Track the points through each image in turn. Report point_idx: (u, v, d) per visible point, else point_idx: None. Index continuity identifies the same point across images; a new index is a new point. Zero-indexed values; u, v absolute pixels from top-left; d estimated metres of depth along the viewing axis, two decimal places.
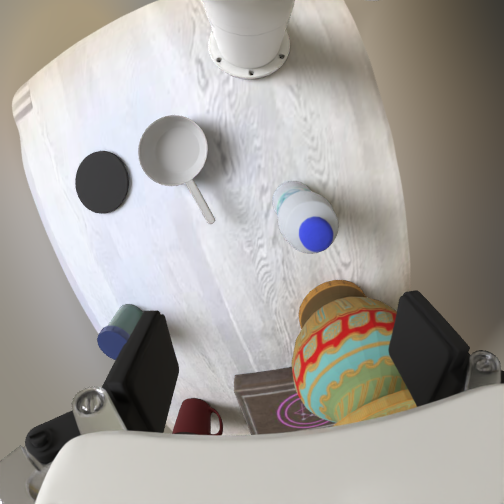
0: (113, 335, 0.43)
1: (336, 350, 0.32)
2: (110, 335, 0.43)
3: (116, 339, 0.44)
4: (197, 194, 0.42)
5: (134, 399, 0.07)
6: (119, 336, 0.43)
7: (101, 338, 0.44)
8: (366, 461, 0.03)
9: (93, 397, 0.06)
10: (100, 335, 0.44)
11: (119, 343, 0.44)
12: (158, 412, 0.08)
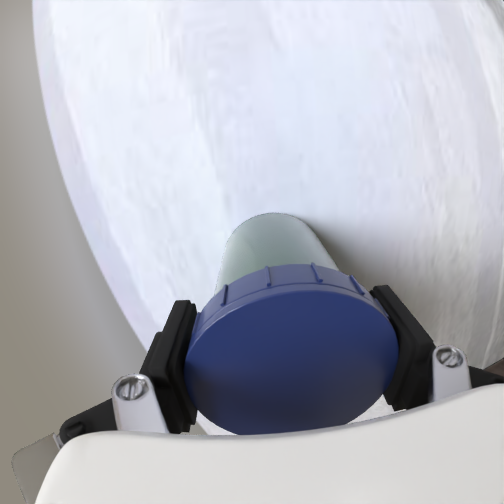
0: (328, 319, 0.07)
1: None
2: (301, 324, 0.07)
3: (336, 342, 0.07)
4: None
5: (174, 384, 0.07)
6: (368, 318, 0.07)
7: (220, 351, 0.08)
8: (366, 461, 0.03)
9: (135, 383, 0.07)
10: (219, 332, 0.07)
11: (344, 364, 0.08)
12: None
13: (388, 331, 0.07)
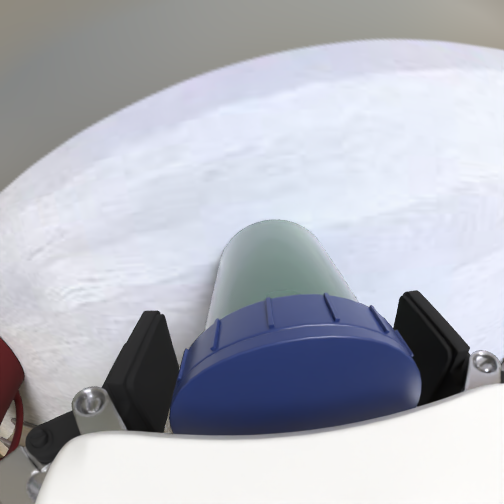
0: (345, 366, 0.05)
1: None
2: (311, 374, 0.05)
3: (352, 390, 0.06)
4: None
5: (134, 399, 0.07)
6: (392, 362, 0.05)
7: (212, 401, 0.06)
8: (366, 461, 0.03)
9: (93, 397, 0.06)
10: (210, 382, 0.06)
11: (358, 410, 0.06)
12: (158, 412, 0.08)
13: (412, 373, 0.06)
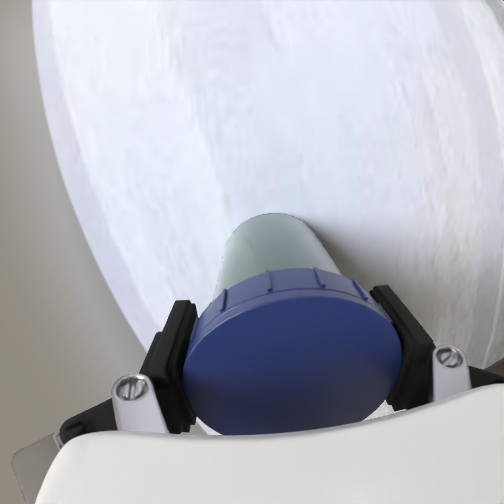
0: (208, 380, 0.08)
1: None
2: (215, 395, 0.08)
3: (237, 372, 0.07)
4: None
5: (174, 384, 0.07)
6: (208, 350, 0.07)
7: (246, 431, 0.09)
8: (366, 461, 0.03)
9: (135, 383, 0.07)
10: (226, 431, 0.09)
11: (270, 362, 0.07)
12: None
13: (226, 326, 0.07)
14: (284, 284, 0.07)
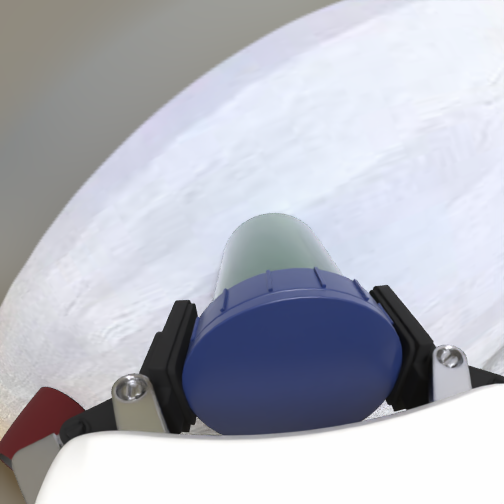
0: (209, 380, 0.08)
1: None
2: (215, 395, 0.08)
3: (237, 372, 0.07)
4: None
5: (174, 384, 0.07)
6: (208, 349, 0.07)
7: (246, 432, 0.09)
8: (366, 461, 0.03)
9: (135, 383, 0.07)
10: (226, 431, 0.09)
11: (271, 362, 0.07)
12: None
13: (227, 326, 0.07)
14: (285, 284, 0.07)
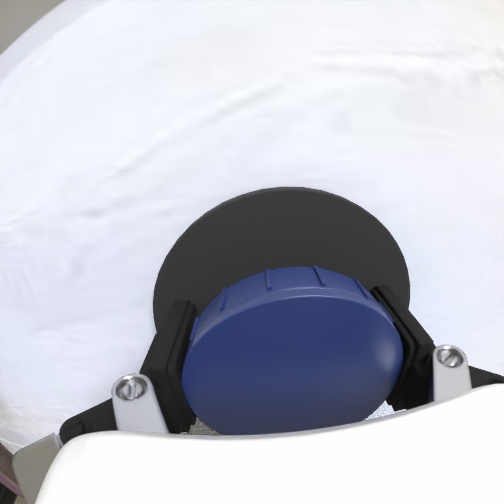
0: (208, 379, 0.08)
1: None
2: (214, 395, 0.08)
3: (237, 371, 0.07)
4: None
5: (174, 384, 0.07)
6: (207, 349, 0.07)
7: (246, 432, 0.09)
8: (366, 461, 0.03)
9: (135, 383, 0.07)
10: (226, 431, 0.09)
11: (270, 361, 0.07)
12: None
13: (226, 325, 0.07)
14: (284, 283, 0.07)
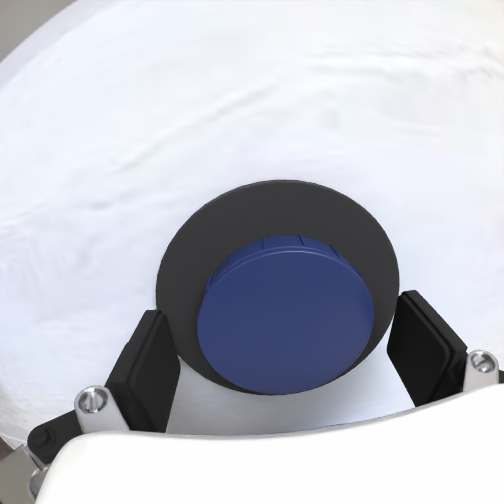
0: (218, 323, 0.10)
1: None
2: (223, 338, 0.10)
3: (241, 314, 0.10)
4: None
5: (137, 398, 0.07)
6: (219, 295, 0.10)
7: (247, 376, 0.11)
8: (366, 461, 0.03)
9: (96, 395, 0.06)
10: (231, 376, 0.11)
11: (266, 305, 0.10)
12: (160, 411, 0.08)
13: (233, 274, 0.10)
14: (276, 244, 0.10)
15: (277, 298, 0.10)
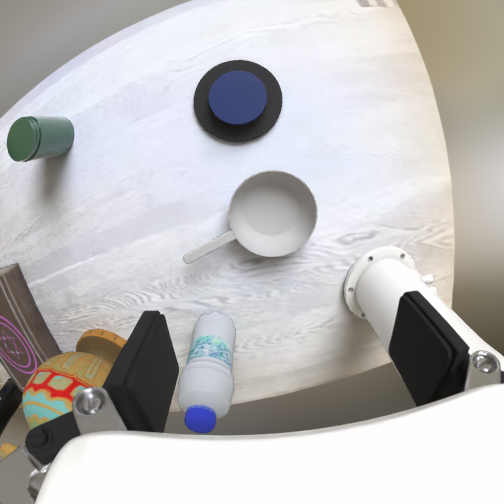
0: (215, 92, 0.30)
1: None
2: (216, 98, 0.30)
3: (222, 89, 0.30)
4: (217, 244, 0.35)
5: (134, 399, 0.07)
6: (216, 83, 0.29)
7: (224, 114, 0.31)
8: (366, 461, 0.03)
9: (93, 396, 0.06)
10: (218, 114, 0.31)
11: (230, 86, 0.30)
12: (158, 412, 0.08)
13: (221, 77, 0.29)
14: None
15: (233, 83, 0.30)
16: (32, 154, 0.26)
